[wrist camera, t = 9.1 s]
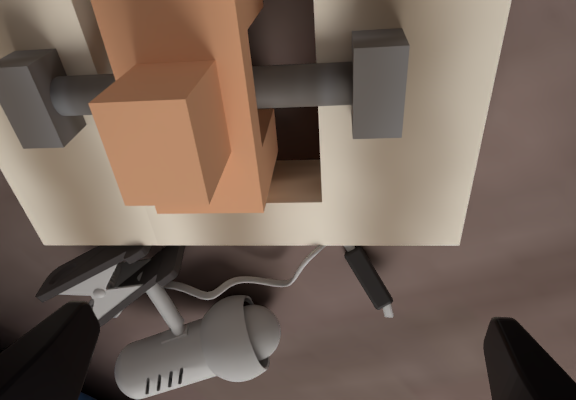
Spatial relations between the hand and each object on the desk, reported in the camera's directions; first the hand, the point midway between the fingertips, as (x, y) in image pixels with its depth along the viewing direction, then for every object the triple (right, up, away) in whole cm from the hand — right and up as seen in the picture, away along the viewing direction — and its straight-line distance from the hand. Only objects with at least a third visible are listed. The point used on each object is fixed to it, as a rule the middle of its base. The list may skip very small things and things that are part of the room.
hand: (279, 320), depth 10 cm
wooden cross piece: (-3, +8, +8) cm, 11 cm away
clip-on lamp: (-3, -1, +17) cm, 18 cm away
